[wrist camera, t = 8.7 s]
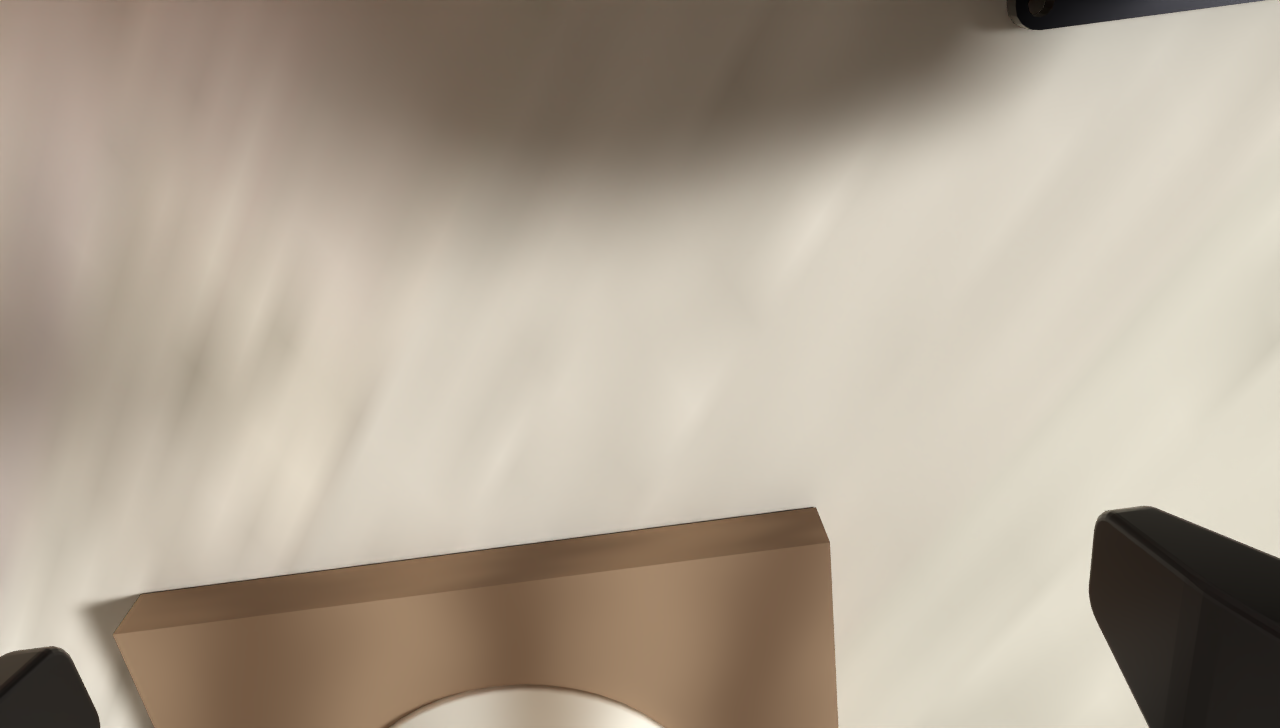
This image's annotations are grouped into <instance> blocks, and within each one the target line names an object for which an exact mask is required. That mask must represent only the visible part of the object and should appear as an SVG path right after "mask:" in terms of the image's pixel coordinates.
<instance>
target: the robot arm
mask: <svg viewBox="0 0 1280 728" xmlns="http://www.w3.org/2000/svg"><path fill="white" fill-rule="evenodd" d="M1256 1H1263V0H1045V3H1044V7H1043V8H1042V9H1041V10H1040V12H1039V13H1037V14H1035V15H1032V14H1031V13H1030V12H1029V8H1028V2H1029V0H1007V8H1008V14H1009V17H1010V18H1011V20H1012V21H1013V23H1014V24H1016V25H1018V26H1019V27H1021V28H1026V29H1032V30H1044V29H1052V28H1059V27H1067V26H1075V25H1082V24H1090V23H1097V22H1105V21H1112V20H1120V19H1127V18H1135V17H1142V16H1150V15H1158V14H1165V13H1173V12H1180V11H1188V10H1195V9H1203V8H1210V7H1218V6H1226V5H1233V4H1241V3H1248V2H1256ZM1089 598H1090V603H1091V607H1092V611H1093V614H1094V616H1095V618H1096V621H1097V623H1098V625H1099V627H1100V629H1101V631H1102V633H1103V635H1104V637H1105V639H1106V641H1107V643H1108V645H1109V647H1110V649H1111V651H1112V653H1113V655H1114V657H1115V659H1116V661H1117V663H1118V665H1119V667H1120V669H1121V671H1122V674H1123V676H1124V678H1125V680H1126V682H1127V684H1128V686H1129V688H1130V690H1131V692H1132V694H1133V696H1134V698H1135V700H1136V702H1137V704H1138V706H1139V708H1140V710H1141V712H1142V714H1143V716H1144V718H1145V720H1146V722H1147V724H1148V726H1149V728H1280V558H1277V557H1275V556H1272V555H1270V554H1268V553H1265V552H1263V551H1260V550H1258V549H1255V548H1253V547H1250V546H1248V545H1245V544H1243V543H1241V542H1238V541H1236V540H1233V539H1231V538H1228V537H1226V536H1223V535H1221V534H1218V533H1216V532H1214V531H1211V530H1209V529H1206V528H1204V527H1201V526H1199V525H1196V524H1194V523H1191V522H1189V521H1187V520H1184V519H1182V518H1179V517H1177V516H1174V515H1172V514H1169V513H1167V512H1164V511H1162V510H1160V509H1157V508H1154V507H1151V506H1139V507H1131V508H1123V509H1116V510H1108V511H1105V512H1104V513H1102V514H1101V515H1100V516H1099V517H1098V519H1097V521H1096V524H1095V529H1094V538H1093V549H1092V559H1091V570H1090V580H1089ZM0 728H100V722H99V716H98V714H97V711H96V709H95V707H94V705H93V703H92V701H91V698H90V696H89V694H88V692H87V690H86V688H85V686H84V684H83V682H82V679H81V677H80V675H79V673H78V671H77V669H76V667H75V665H74V663H73V661H72V659H71V657H70V655H69V654H68V653H67V652H65V651H64V650H63V649H61V648H58V647H54V646H50V647H42V648H34V649H26V650H18V651H13V652H10V653H7V654H5V655H3V656H1V657H0Z"/></svg>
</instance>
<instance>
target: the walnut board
mask: <svg viewBox="0 0 1280 728" xmlns="http://www.w3.org/2000/svg"><path fill="white" fill-rule="evenodd" d="M113 637H114V639H115V641H116V643H117V646H118V648H119V650H120V652H121V654H122V657H123V659H124V661H125V663H126V666H127V668H128V670H129V672H130V675H131V677H132V679H133V681H134V684H135V686H136V688H137V690H138V692H139V695H140V697H141V699H142V701H143V704H144V706H145V708H146V710H147V713H148V715H149V717H150V719H151V722H152V724H153V726H154V728H838V711H837V689H836V667H835V645H834V623H833V601H832V579H831V557H830V542H829V539H828V537H827V534H826V532H825V529H824V527H823V524H822V522H821V519H820V517H819V514H818V512H817V509H816V507H815V508H807V509H799V510H792V511H784V512H776V513H768V514H761V515H753V516H745V517H737V518H730V519H722V520H714V521H706V522H699V523H691V524H683V525H675V526H668V527H660V528H652V529H644V530H637V531H629V532H621V533H613V534H606V535H598V536H590V537H582V538H575V539H567V540H559V541H551V542H544V543H536V544H528V545H520V546H513V547H505V548H497V549H489V550H482V551H474V552H466V553H458V554H451V555H443V556H435V557H427V558H420V559H412V560H404V561H396V562H389V563H381V564H373V565H365V566H358V567H350V568H342V569H334V570H327V571H319V572H311V573H303V574H296V575H288V576H280V577H272V578H265V579H257V580H249V581H241V582H234V583H226V584H218V585H210V586H203V587H195V588H187V589H179V590H172V591H164V592H156V593H148V594H141V595H140V596H139V598H138V599H137V601H136V602H135V603H134V605H133V606H132V608H131V609H130V611H129V612H128V613H127V615H126V616H125V618H124V619H123V621H122V622H121V623H120V625H119V626H118V628H117V629H116V631H115V632H114V634H113Z"/></svg>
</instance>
